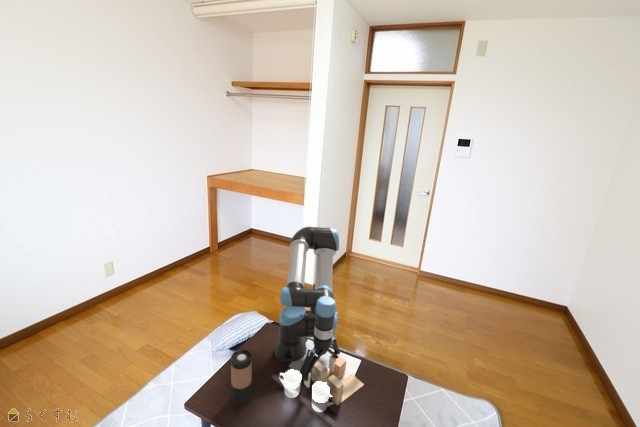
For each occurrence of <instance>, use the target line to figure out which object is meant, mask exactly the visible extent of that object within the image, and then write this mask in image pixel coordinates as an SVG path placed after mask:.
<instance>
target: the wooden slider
mask: <svg viewBox="0 0 640 427" xmlns="http://www.w3.org/2000/svg"><path fill="white" fill-rule="evenodd" d="M311 371H312V373H311V377H310V380H311V381H312V382H313V383H314V382H316V381H322V382H327V379H328V378H329V377H330V376H332V375H334V376H335V377H336V378H337V379H338V380H339V378H341V377H343V376H344V375H345V374H347V373H348V372H349V370H348V369H347V368H345V370H344V372H343V373H342V374H341V375H340V376H338V375H336V374H335V373H333V372H332V371H330V369H329V368H328V367H326V366H325V365H323V363H321V362H320V361H319V360H317V361H316V363H315V365H314V367H313V368H312V370H311Z"/></svg>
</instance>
